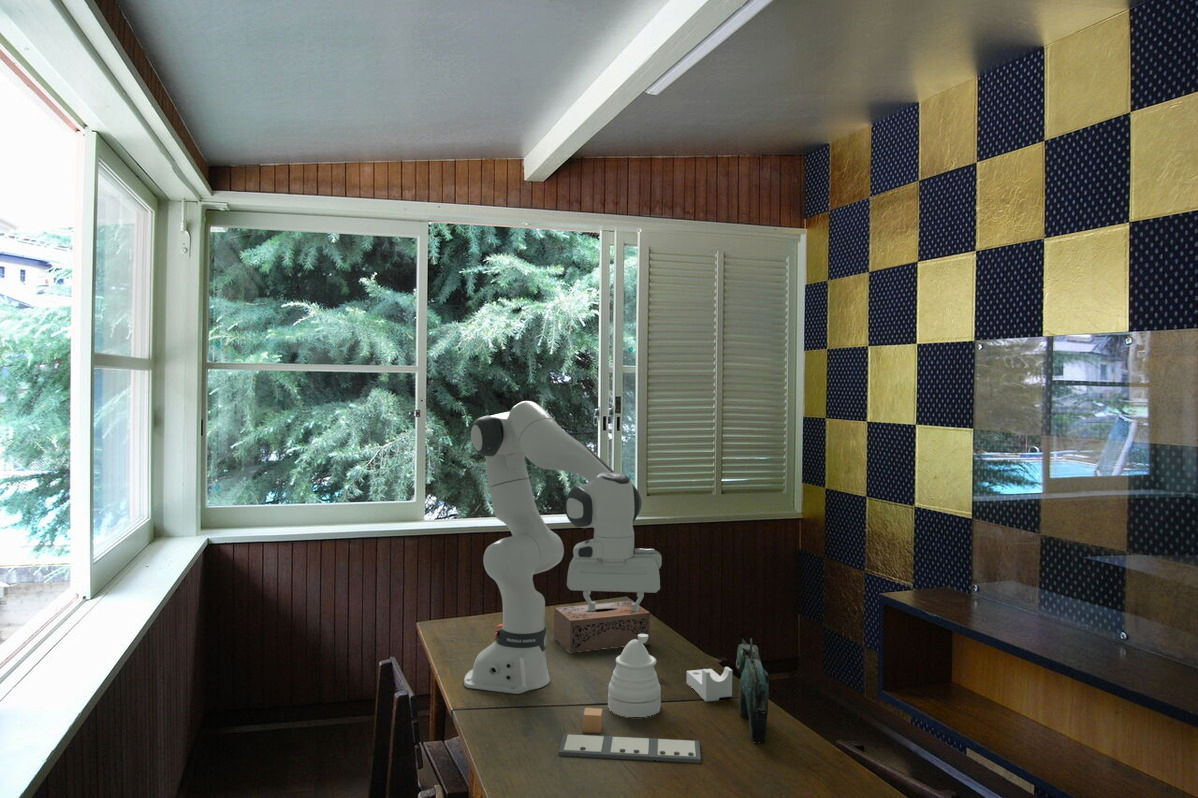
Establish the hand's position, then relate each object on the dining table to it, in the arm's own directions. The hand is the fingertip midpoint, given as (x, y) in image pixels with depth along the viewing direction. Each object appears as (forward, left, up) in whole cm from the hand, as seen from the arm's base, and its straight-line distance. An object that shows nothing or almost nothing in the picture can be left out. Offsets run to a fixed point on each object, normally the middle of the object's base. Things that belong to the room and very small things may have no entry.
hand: (613, 611), depth 179 cm
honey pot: (+4, +22, -30) cm, 38 cm away
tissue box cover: (-8, +72, -30) cm, 79 cm away
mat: (+4, -1, -30) cm, 30 cm away
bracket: (+23, +36, -30) cm, 52 cm away
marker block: (-5, +9, -30) cm, 31 cm away
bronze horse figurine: (+32, +14, -30) cm, 46 cm away
